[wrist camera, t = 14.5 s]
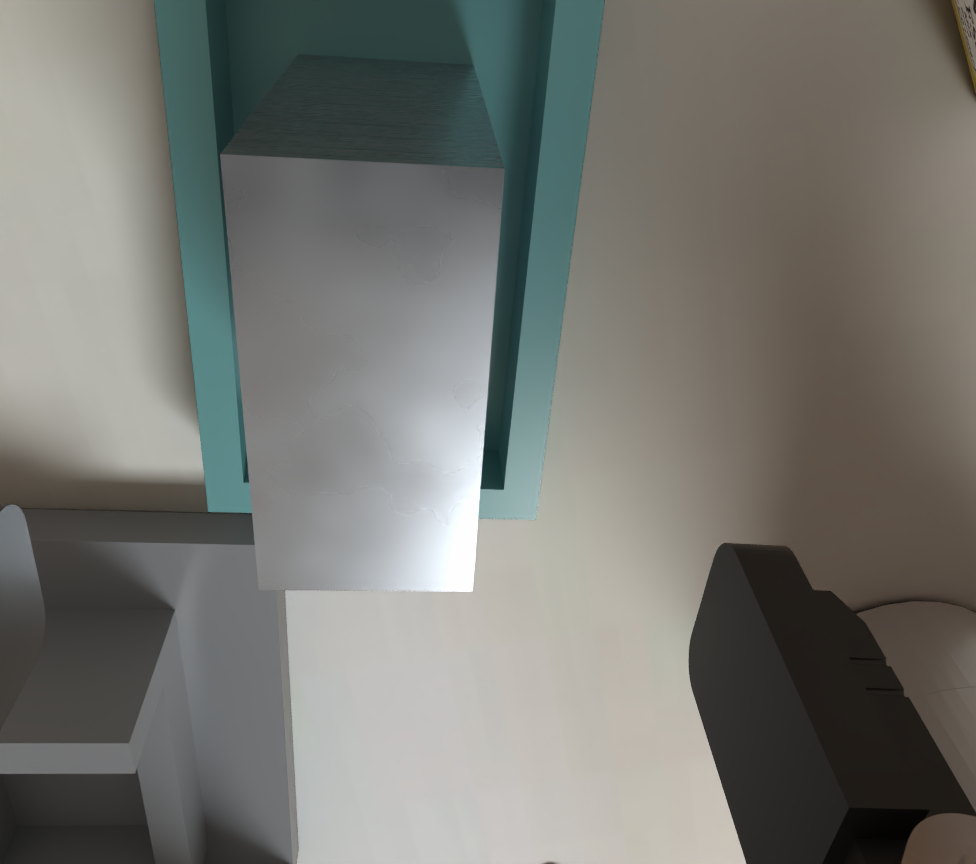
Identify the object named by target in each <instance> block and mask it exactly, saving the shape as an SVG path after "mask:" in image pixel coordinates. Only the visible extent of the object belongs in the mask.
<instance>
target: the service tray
mask: <svg viewBox="0 0 976 864" xmlns="http://www.w3.org/2000/svg"><path fill="white" fill-rule="evenodd" d="M604 3H605V0H154V6H155V15H156V25H157V34H158V44H159V53H160V63H161V72H162V81H163V91H164V100H165V110H166V119H167V128H168V138H169V147H170V157H171V166H172V176H173V185H174V194H175V204H176V213H177V223H178V232H179V241H180V251H181V260H182V270H183V279H184V289H185V298H186V307H187V317H188V326H189V336H190V345H191V354H192V364H193V373H194V383H195V392H196V402H197V411H198V420H199V430H200V439H201V449H202V458H203V467H204V477H205V486H206V496H207V505H208V512H232V513H252V508H251V497H250V485H249V474H248V463H247V452H246V440H245V429H244V418H243V406H242V395H241V384H240V373H239V361H238V350H237V339H236V328H235V316H234V305H233V294H232V283H231V271H230V260H229V249H228V238H227V226H226V215H225V204H224V193H223V181H222V170H221V159H220V154H221V152H222V151H223V150H224V148H225V147H226V146H227V145H228V143H229V142H230V141H231V139H232V138H233V137H234V136H235V134H236V133H237V132H238V130H239V129H240V128H241V127H242V125H243V124H244V123H245V121H246V120H247V119H248V118H249V116H250V115H251V114H252V112H253V111H254V110H255V109H256V107H257V106H258V105H259V103H260V102H261V101H262V100H263V98H264V97H265V96H266V94H267V93H268V92H269V91H270V89H271V88H272V87H273V85H274V84H275V83H276V82H277V80H278V79H279V78H280V76H281V75H282V74H283V72H284V71H285V70H286V69H287V67H288V66H289V65H290V63H291V62H292V61H293V60H294V58H295V57H296V56H297V54H304V55H320V56H336V57H353V58H369V59H385V60H401V61H418V62H434V63H450V64H467V65H474V68H475V71H476V74H477V78H478V81H479V84H480V88H481V91H482V94H483V98H484V101H485V104H486V108H487V111H488V114H489V118H490V121H491V124H492V128H493V131H494V134H495V138H496V141H497V144H498V148H499V151H500V154H501V158H502V161H503V164H504V168H505V172H504V185H503V198H502V211H501V225H500V238H499V251H498V264H497V277H496V290H495V303H494V317H493V330H492V343H491V356H490V369H489V382H488V395H487V409H486V422H485V435H484V448H483V461H482V474H481V487H480V501H479V514H478V519H516V520H536V517H537V509H538V501H539V494H540V486H541V479H542V471H543V464H544V456H545V449H546V441H547V434H548V426H549V418H550V411H551V403H552V396H553V388H554V381H555V373H556V366H557V358H558V351H559V343H560V335H561V328H562V320H563V313H564V305H565V298H566V290H567V283H568V275H569V268H570V260H571V252H572V245H573V237H574V230H575V222H576V215H577V207H578V200H579V192H580V185H581V177H582V169H583V162H584V154H585V147H586V139H587V132H588V124H589V117H590V109H591V102H592V94H593V86H594V79H595V71H596V64H597V56H598V49H599V41H600V34H601V26H602V19H603V11H604Z"/></svg>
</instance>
